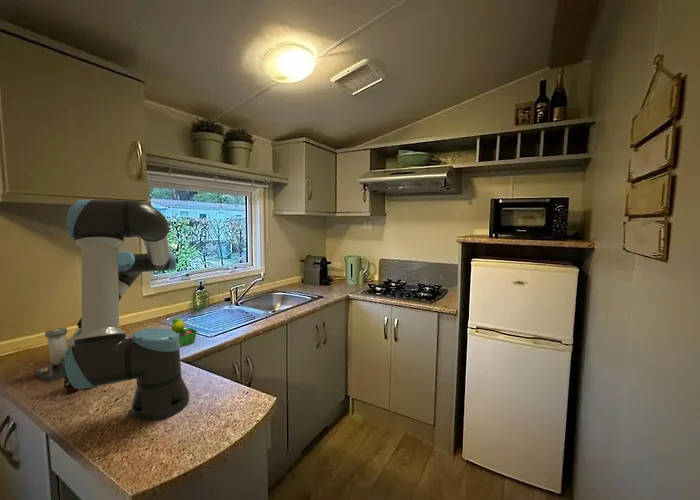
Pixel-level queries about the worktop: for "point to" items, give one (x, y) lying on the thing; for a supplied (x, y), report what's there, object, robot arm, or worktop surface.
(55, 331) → the grey lidded cylinder
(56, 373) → the tribrach base
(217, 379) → the worktop surface
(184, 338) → the fruit basket
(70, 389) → the binoculars
